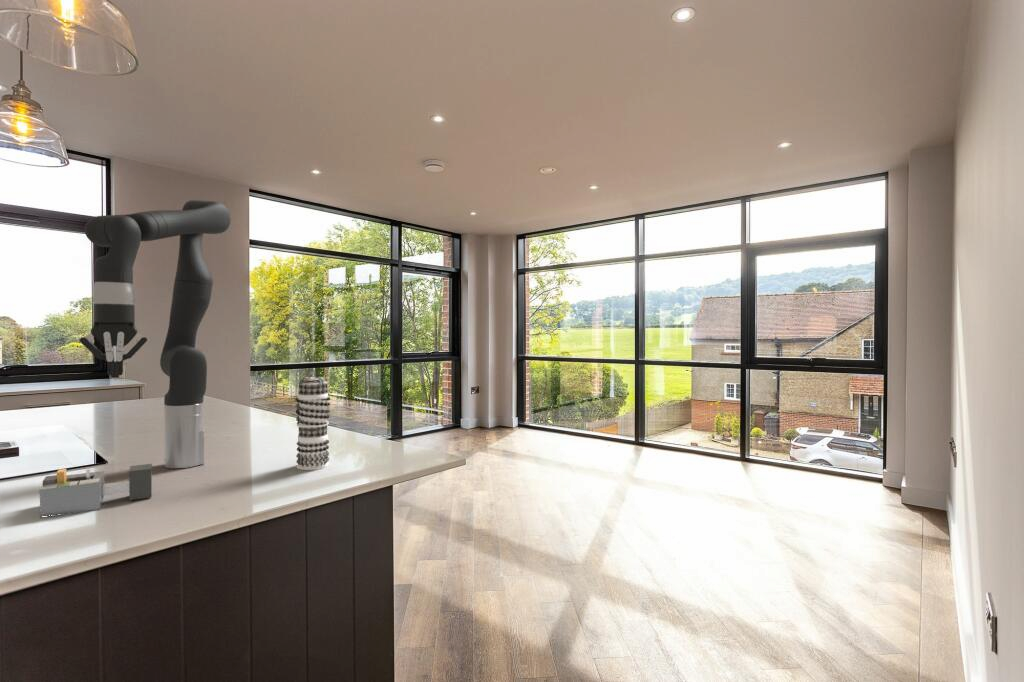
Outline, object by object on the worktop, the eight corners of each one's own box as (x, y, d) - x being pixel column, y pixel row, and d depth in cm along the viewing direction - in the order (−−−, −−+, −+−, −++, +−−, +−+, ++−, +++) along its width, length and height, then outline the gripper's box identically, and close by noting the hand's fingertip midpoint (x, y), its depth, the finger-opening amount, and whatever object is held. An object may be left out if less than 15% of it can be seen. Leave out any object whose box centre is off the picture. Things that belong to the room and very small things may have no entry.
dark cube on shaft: (151, 491, 120) (151, 459, 120) (151, 497, 116) (151, 464, 116) (88, 499, 114) (88, 466, 114) (85, 506, 110) (85, 471, 109)
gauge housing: (104, 496, 117) (104, 466, 117) (100, 509, 109) (99, 477, 109) (49, 503, 112) (48, 472, 112) (40, 518, 104) (39, 484, 103)
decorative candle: (326, 469, 141) (327, 379, 140) (291, 470, 139) (291, 379, 138) (333, 461, 150) (333, 375, 149) (299, 462, 148) (299, 375, 147)
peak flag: (66, 500, 111) (66, 468, 111) (64, 504, 108) (64, 471, 108) (59, 501, 110) (58, 469, 110) (57, 505, 108) (56, 472, 108)
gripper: (149, 304, 125) (150, 375, 126) (79, 302, 118) (80, 377, 118) (149, 303, 119) (149, 377, 119) (74, 301, 112) (75, 380, 112)
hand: (115, 377), depth 119 cm, fingers closed
